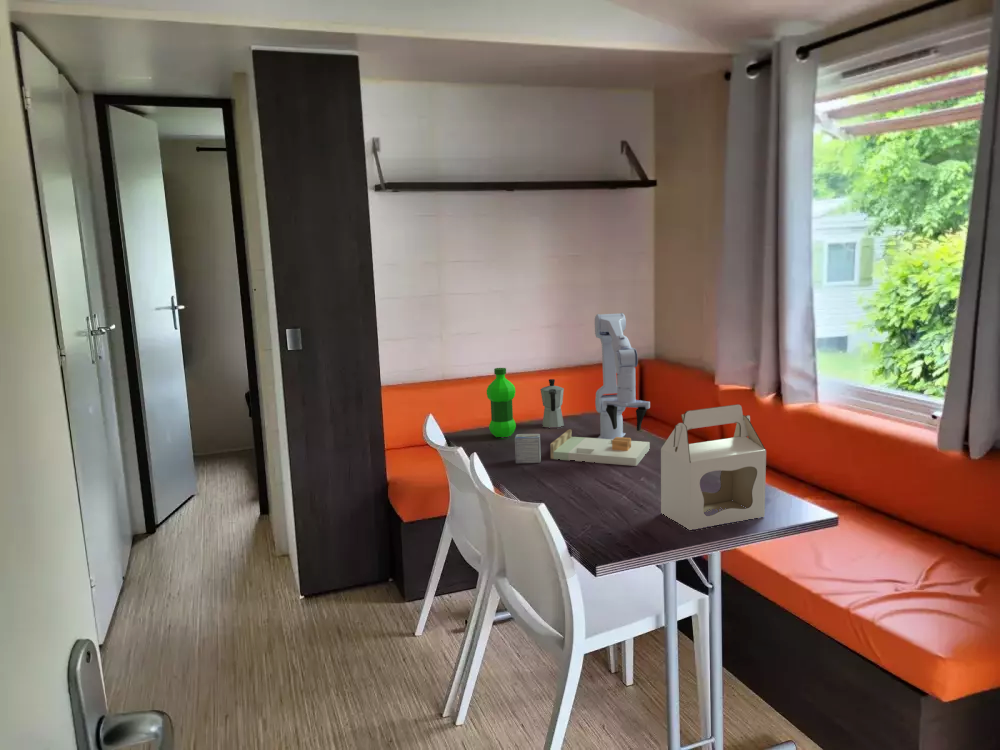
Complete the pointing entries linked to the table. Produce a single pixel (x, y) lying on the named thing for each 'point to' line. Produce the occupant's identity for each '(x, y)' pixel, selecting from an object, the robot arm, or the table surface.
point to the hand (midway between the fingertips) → (626, 429)
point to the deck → (596, 450)
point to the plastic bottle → (501, 405)
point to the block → (621, 443)
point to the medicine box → (527, 448)
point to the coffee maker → (552, 405)
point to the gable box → (730, 455)
